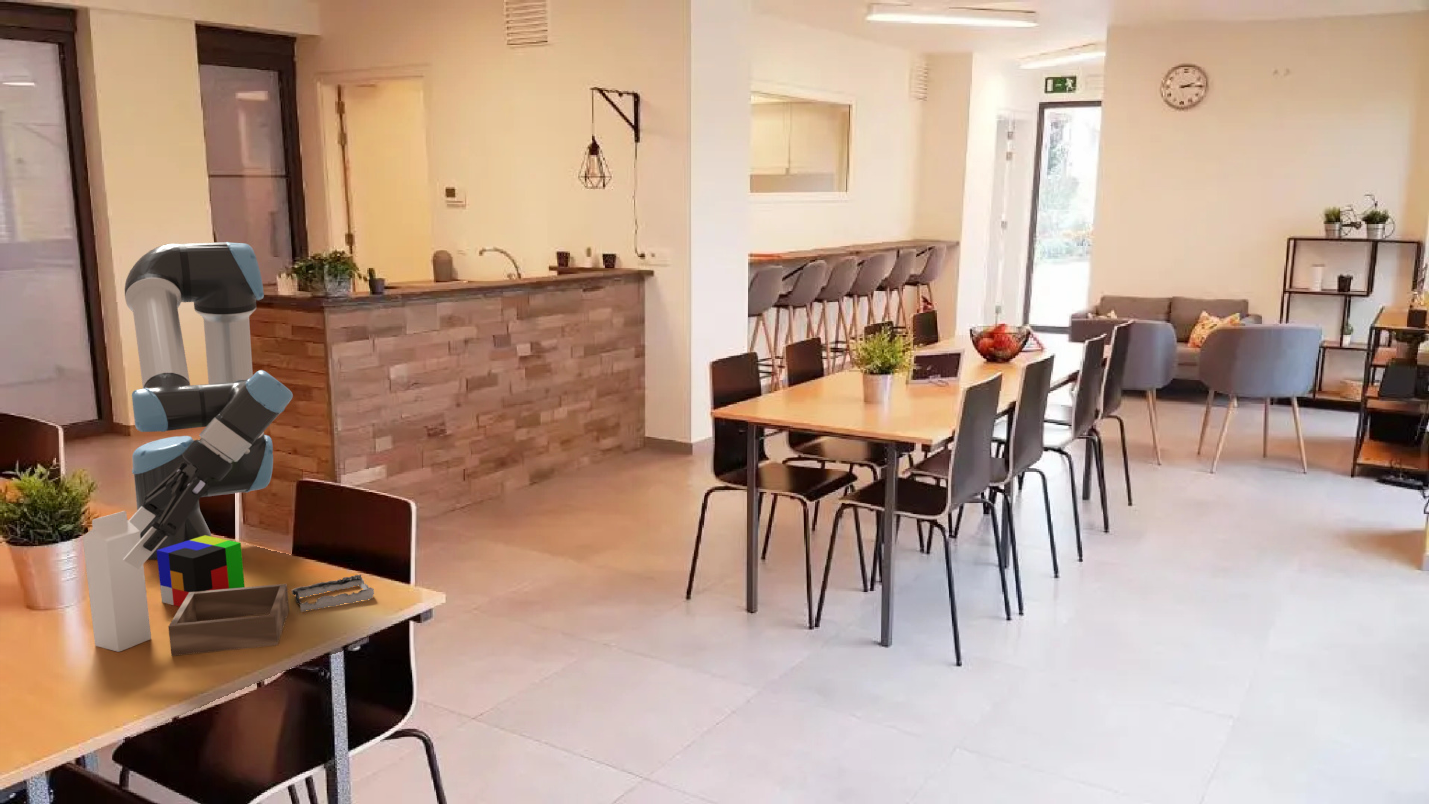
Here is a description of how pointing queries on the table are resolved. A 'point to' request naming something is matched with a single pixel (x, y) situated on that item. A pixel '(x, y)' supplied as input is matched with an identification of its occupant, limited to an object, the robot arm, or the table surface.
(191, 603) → the walnut box
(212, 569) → the puzzle toy
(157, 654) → the table surface
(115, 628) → the milk
